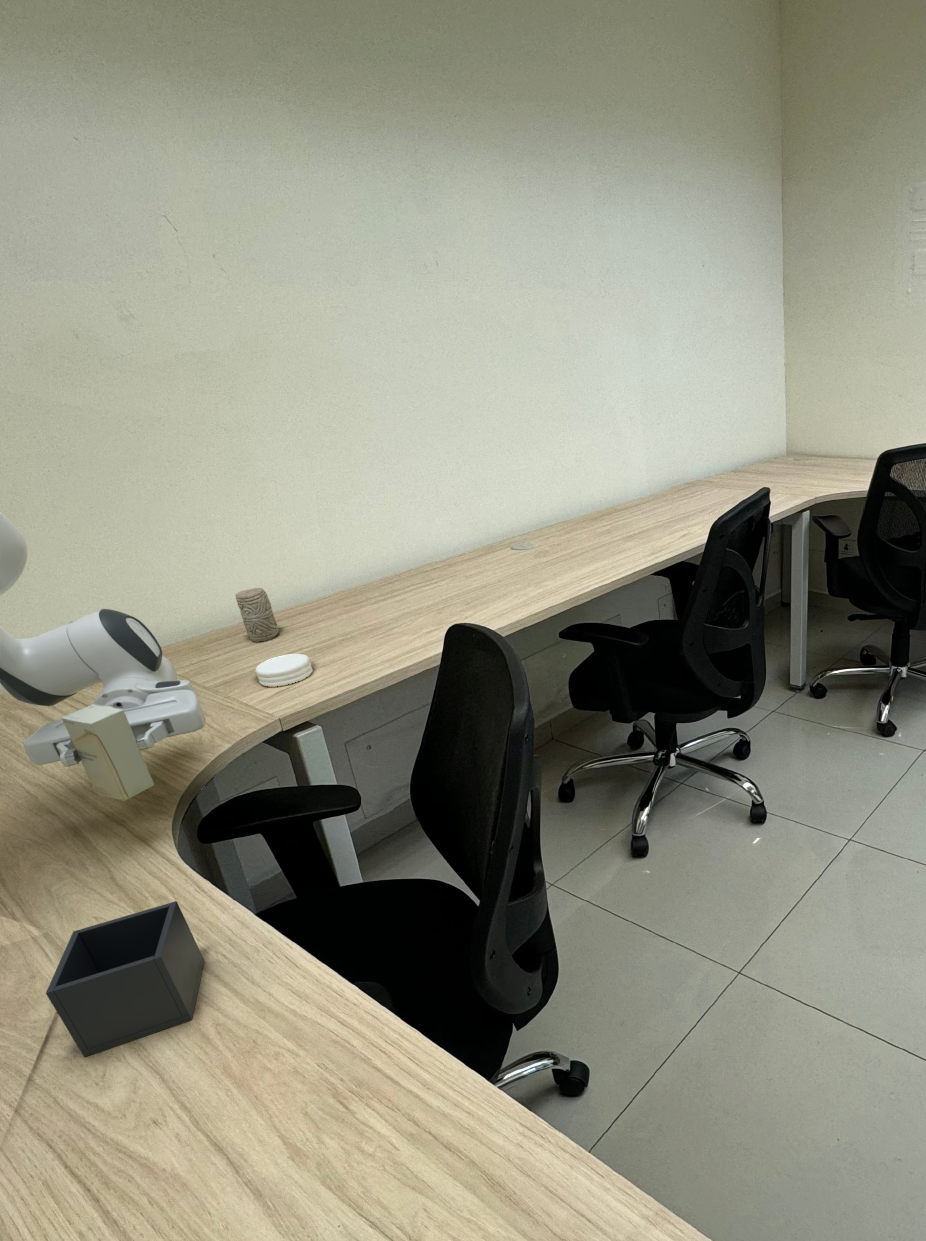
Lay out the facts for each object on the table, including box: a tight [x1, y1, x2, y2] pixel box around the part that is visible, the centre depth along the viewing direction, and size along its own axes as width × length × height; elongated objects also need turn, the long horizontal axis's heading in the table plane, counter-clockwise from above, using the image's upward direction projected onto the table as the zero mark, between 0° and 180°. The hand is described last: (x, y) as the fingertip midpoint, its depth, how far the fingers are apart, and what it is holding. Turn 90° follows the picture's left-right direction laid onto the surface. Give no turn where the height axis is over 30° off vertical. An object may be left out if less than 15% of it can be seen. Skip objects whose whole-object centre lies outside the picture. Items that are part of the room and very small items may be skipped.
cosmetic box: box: [60, 703, 155, 802], centre depth 103 cm, size 6×4×12 cm
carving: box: [234, 587, 279, 643], centre depth 179 cm, size 6×8×12 cm
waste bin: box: [45, 900, 205, 1058], centre depth 79 cm, size 9×9×9 cm
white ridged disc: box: [255, 653, 313, 688], centre depth 158 cm, size 10×10×4 cm
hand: (107, 752), depth 102 cm, fingers closed on cosmetic box, 7 cm apart
